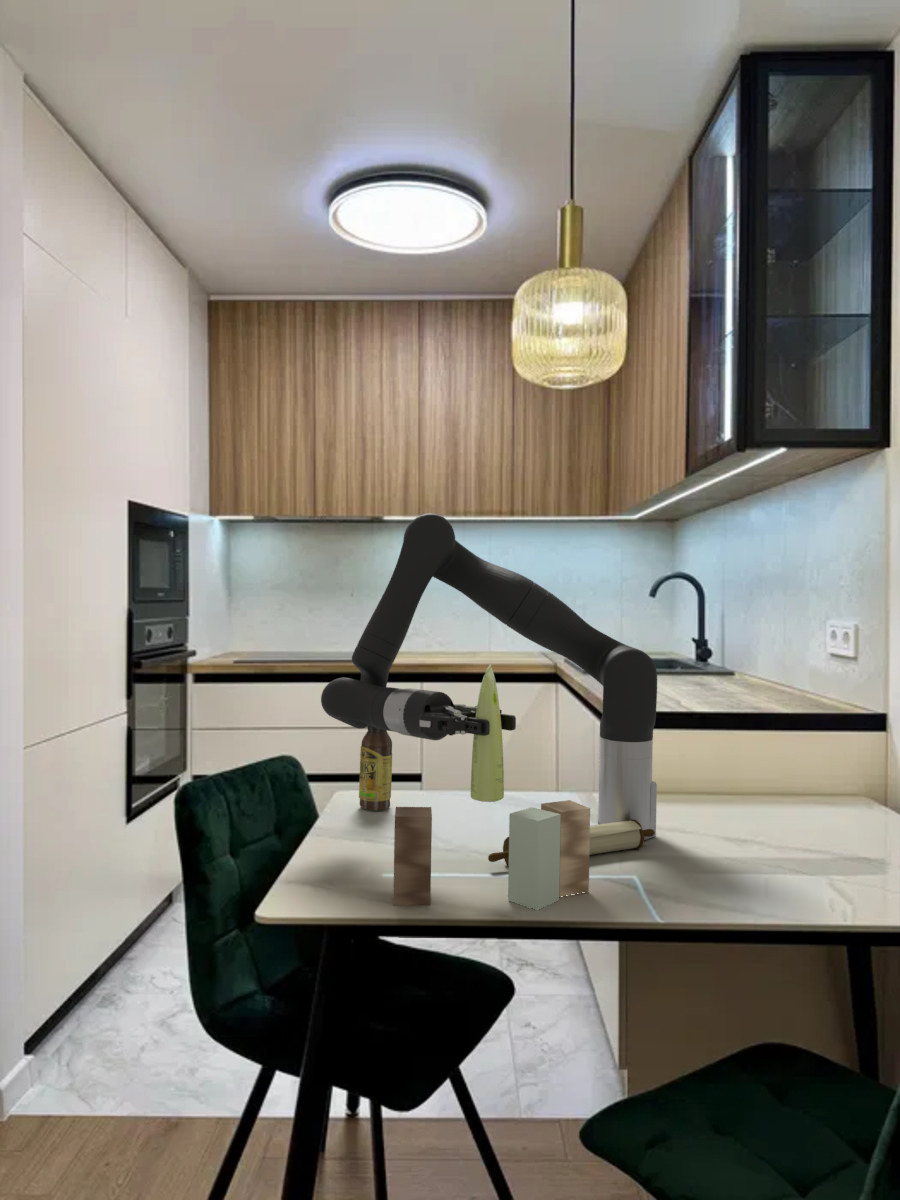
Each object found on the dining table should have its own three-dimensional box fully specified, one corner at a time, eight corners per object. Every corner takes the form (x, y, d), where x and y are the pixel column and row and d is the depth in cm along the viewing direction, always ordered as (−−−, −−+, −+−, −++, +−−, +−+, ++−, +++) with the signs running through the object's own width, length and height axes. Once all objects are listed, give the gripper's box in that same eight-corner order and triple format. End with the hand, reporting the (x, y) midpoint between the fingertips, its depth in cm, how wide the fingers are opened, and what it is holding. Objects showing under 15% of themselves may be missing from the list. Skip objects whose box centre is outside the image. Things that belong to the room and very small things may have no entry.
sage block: (530, 891, 116) (531, 807, 116) (559, 900, 113) (560, 814, 113) (507, 900, 113) (509, 813, 113) (537, 910, 109) (538, 820, 109)
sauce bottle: (352, 806, 161) (354, 705, 161) (379, 802, 165) (381, 703, 165) (370, 814, 156) (371, 709, 156) (397, 809, 160) (399, 707, 159)
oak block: (568, 881, 121) (569, 800, 121) (588, 892, 116) (590, 808, 116) (539, 886, 119) (541, 803, 119) (559, 897, 114) (561, 811, 114)
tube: (513, 800, 119) (514, 666, 119) (485, 805, 116) (485, 668, 116) (490, 792, 124) (491, 663, 124) (463, 796, 121) (463, 665, 121)
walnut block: (429, 892, 116) (431, 807, 115) (430, 905, 111) (431, 816, 110) (394, 891, 115) (395, 806, 115) (393, 905, 110) (394, 816, 110)
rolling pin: (642, 842, 142) (642, 813, 142) (664, 851, 137) (665, 821, 137) (479, 867, 127) (480, 835, 127) (498, 878, 122) (498, 845, 122)
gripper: (385, 693, 125) (468, 704, 113) (449, 685, 135) (531, 695, 124) (385, 742, 125) (468, 758, 113) (449, 731, 135) (531, 744, 124)
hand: (501, 725), depth 118 cm, fingers closed on tube, 5 cm apart
